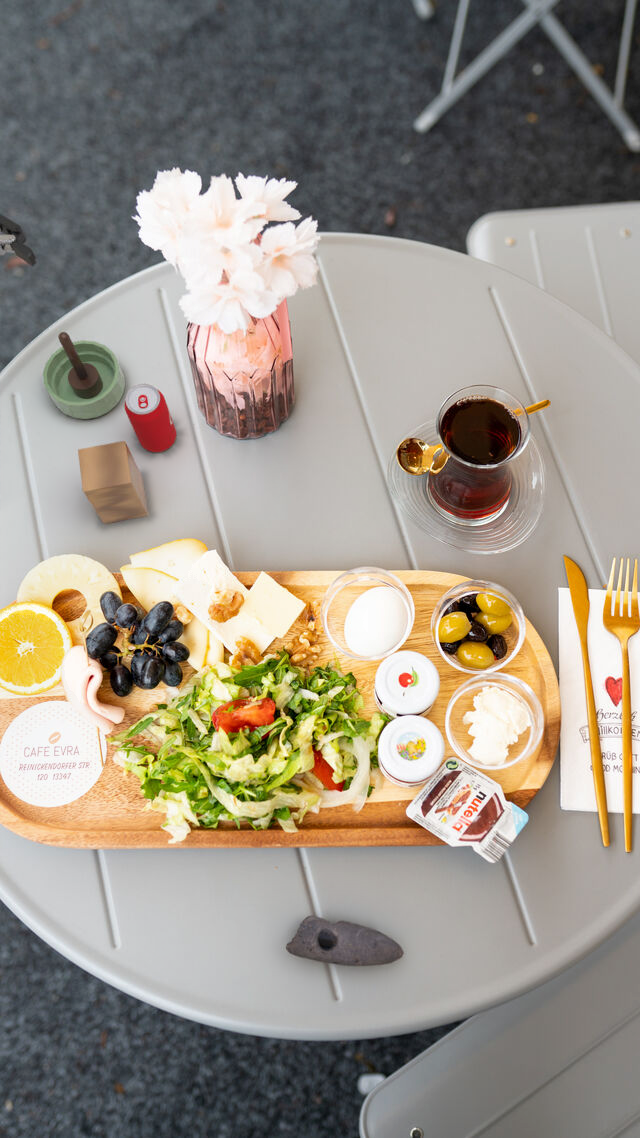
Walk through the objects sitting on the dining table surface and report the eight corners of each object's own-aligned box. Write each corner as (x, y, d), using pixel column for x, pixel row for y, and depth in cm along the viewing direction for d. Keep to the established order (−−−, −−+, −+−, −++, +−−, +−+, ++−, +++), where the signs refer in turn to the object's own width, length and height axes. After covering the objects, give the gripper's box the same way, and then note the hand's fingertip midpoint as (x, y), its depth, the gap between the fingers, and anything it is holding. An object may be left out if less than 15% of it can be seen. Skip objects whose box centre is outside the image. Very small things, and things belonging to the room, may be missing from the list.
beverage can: (175, 418, 136) (161, 377, 124) (179, 451, 133) (165, 412, 122) (137, 424, 135) (120, 383, 124) (140, 457, 133) (123, 419, 122)
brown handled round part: (74, 401, 136) (47, 351, 122) (71, 376, 137) (44, 323, 124) (104, 396, 136) (80, 345, 123) (101, 370, 138) (77, 317, 124)
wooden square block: (104, 524, 129) (82, 491, 118) (98, 484, 132) (77, 449, 120) (148, 515, 130) (131, 482, 118) (142, 476, 132) (125, 440, 121)
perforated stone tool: (404, 931, 109) (409, 935, 102) (398, 974, 107) (403, 981, 101) (293, 909, 110) (291, 911, 103) (286, 951, 108) (283, 957, 102)
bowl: (56, 427, 135) (47, 411, 130) (49, 365, 139) (39, 347, 134) (130, 413, 136) (123, 397, 131) (121, 352, 140) (113, 334, 135)
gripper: (-21, 213, 127) (55, 266, 124) (-89, 273, 123) (-14, 328, 120) (-41, 175, 120) (38, 229, 117) (-114, 237, 116) (-35, 295, 113)
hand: (12, 280), depth 118 cm, fingers open, 8 cm apart
